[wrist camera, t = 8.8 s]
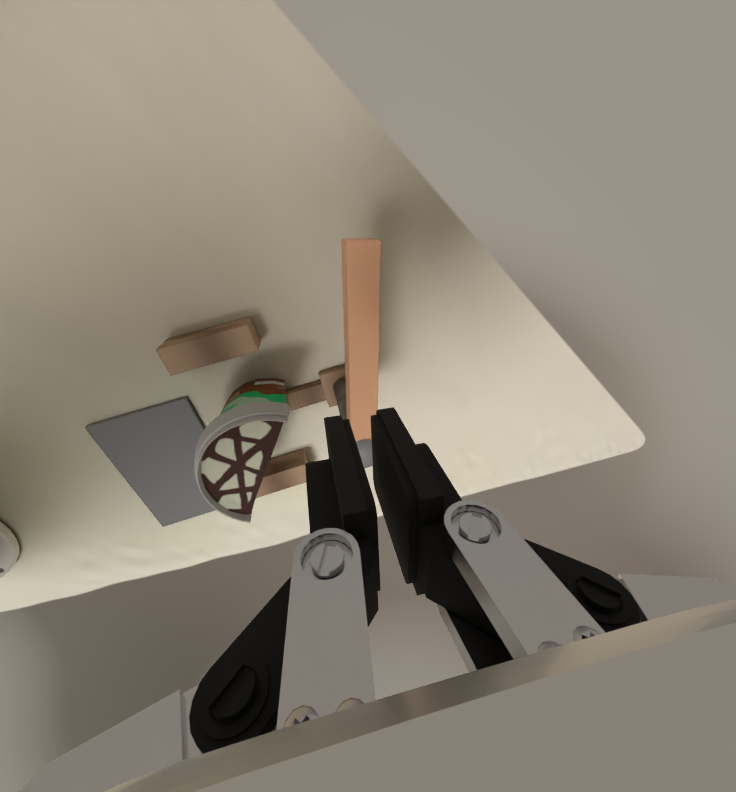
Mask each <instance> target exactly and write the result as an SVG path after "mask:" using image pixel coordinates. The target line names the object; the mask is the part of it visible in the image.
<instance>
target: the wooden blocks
mask: <svg viewBox="0 0 736 792" xmlns="http://www.w3.org/2000/svg"><path fill="white" fill-rule="evenodd" d="M259 345H260V339H259V336H258V334H257V331H256V329H255V326H254V324H253V321H252V319H251V317H247V318H244V319H240V320H236V321H233V322H229V323H225V324H222V325H218V326H214V327H211V328H207V329H204V330H200V331H196V332H193V333H189V334H185V335H182V336H178V337H174V338H171V339H167V340H166V341H165V342H164V343H163V344H162V345H161V346H160V347H159V348H158V349H157V350H156V351H157V353H158V354H159V356H160V358H161V360H162V361H163V363H164V365H165V367H166V368H167V370H168V372H169V373H170V375H174V374H178V373H182V372H185V371H189V370H192V369H196V368H199V367H203V366H206V365H210V364H213V363H217V362H221V361H224V360H228V359H231V358H235V357H238V356H242V355H245V354H249V353H252V352H256V351H258V349H259ZM319 377H320V381H317V382H313V383H310V384H307V385H303V386H300V387H296V388H293V389H290V390H286V391H285V394H286V398H287V400H288V403H289V405H290V408H291V410H295V409H298V408H301V407H305V406H308V405H311V404H315V403H318V402H321V401H325V400H327V401H328V404H329V407H332V406H336V405H338V408H339V412H340V415H341V416H342V419H343V420H344V419H347V410H346V376H345V365H341V366H338V367H335V368H331V369H328V370H324V371H321V372H319ZM305 463H309V461H308V458H307V456H306V453H305V451H304V449H301V450H298V451H294V452H291V453H288V454H285V455H282V456H278V457H275V458H272V459H270V461H269V464H268V467H267V470H266V473H265V475H264V478H263V480H262V483H261V485H260V488H259V491H258V493H257V496H256V498H258V497H261V496H264V495H267V494H270V493H273V492H277V491H280V490H283V489H286V488H289V487H292V486H295V485H299V484H302V483H305V482H306V469H305Z"/></svg>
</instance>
